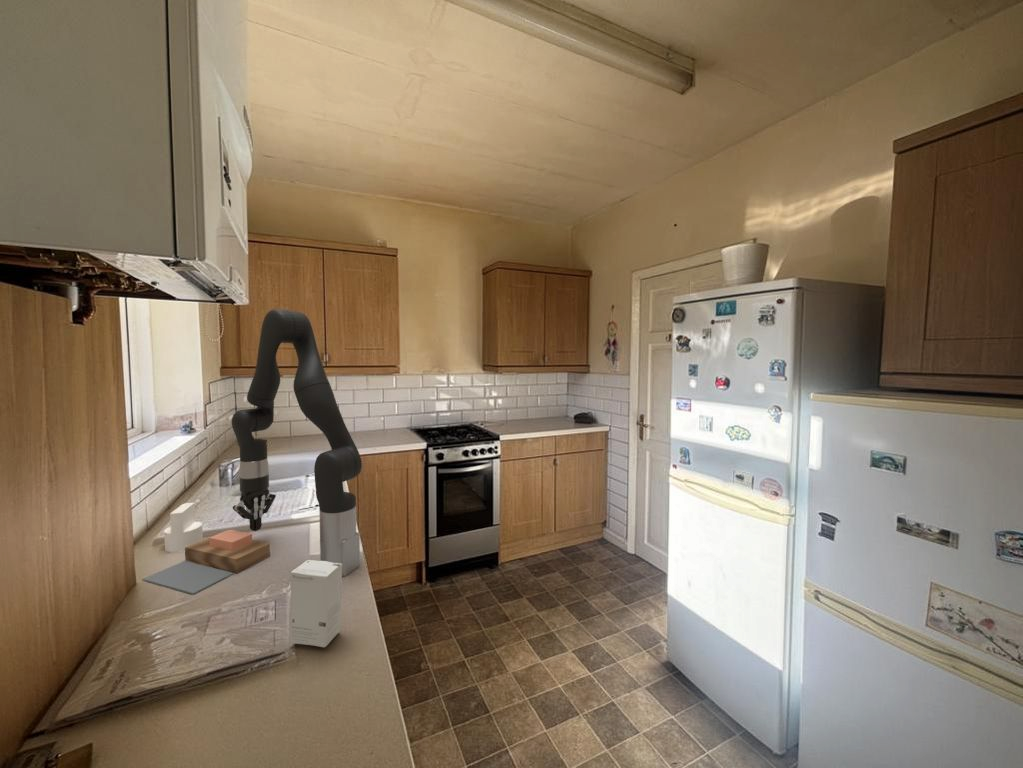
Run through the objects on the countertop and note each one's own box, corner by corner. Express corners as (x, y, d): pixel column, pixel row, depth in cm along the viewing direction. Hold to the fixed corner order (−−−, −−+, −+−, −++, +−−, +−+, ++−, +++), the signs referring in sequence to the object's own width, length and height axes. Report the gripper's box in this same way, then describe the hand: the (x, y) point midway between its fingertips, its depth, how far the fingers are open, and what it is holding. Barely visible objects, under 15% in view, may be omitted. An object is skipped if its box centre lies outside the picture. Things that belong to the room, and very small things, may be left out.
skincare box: (288, 644, 82) (286, 572, 81) (307, 625, 88) (306, 558, 87) (327, 648, 81) (326, 576, 80) (344, 628, 87) (342, 560, 86)
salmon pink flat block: (252, 541, 118) (252, 533, 118) (232, 550, 113) (232, 542, 113) (230, 537, 121) (229, 529, 121) (209, 545, 116) (209, 537, 115)
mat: (233, 574, 108) (233, 573, 108) (193, 594, 99) (193, 593, 98) (184, 562, 114) (184, 560, 114) (142, 580, 105) (142, 578, 105)
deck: (270, 556, 118) (269, 543, 117) (236, 573, 108) (236, 559, 108) (220, 545, 124) (220, 533, 124) (185, 561, 115) (184, 547, 115)
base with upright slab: (173, 542, 127) (171, 504, 126) (207, 538, 129) (206, 501, 129) (158, 555, 118) (156, 515, 117) (195, 551, 121) (194, 511, 120)
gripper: (242, 481, 116) (244, 540, 117) (282, 469, 128) (283, 523, 129) (223, 478, 118) (225, 536, 119) (264, 467, 131) (266, 520, 132)
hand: (255, 529), depth 124 cm, fingers closed
